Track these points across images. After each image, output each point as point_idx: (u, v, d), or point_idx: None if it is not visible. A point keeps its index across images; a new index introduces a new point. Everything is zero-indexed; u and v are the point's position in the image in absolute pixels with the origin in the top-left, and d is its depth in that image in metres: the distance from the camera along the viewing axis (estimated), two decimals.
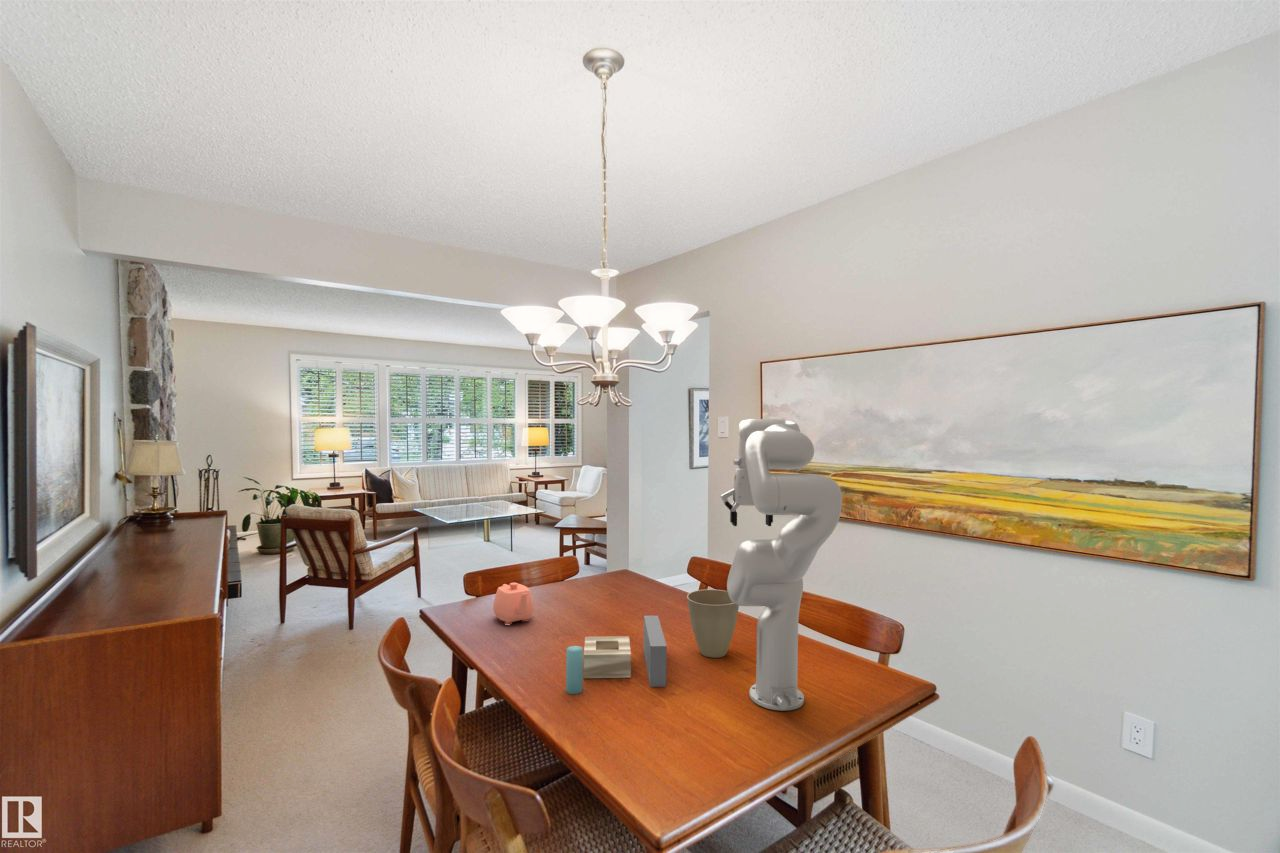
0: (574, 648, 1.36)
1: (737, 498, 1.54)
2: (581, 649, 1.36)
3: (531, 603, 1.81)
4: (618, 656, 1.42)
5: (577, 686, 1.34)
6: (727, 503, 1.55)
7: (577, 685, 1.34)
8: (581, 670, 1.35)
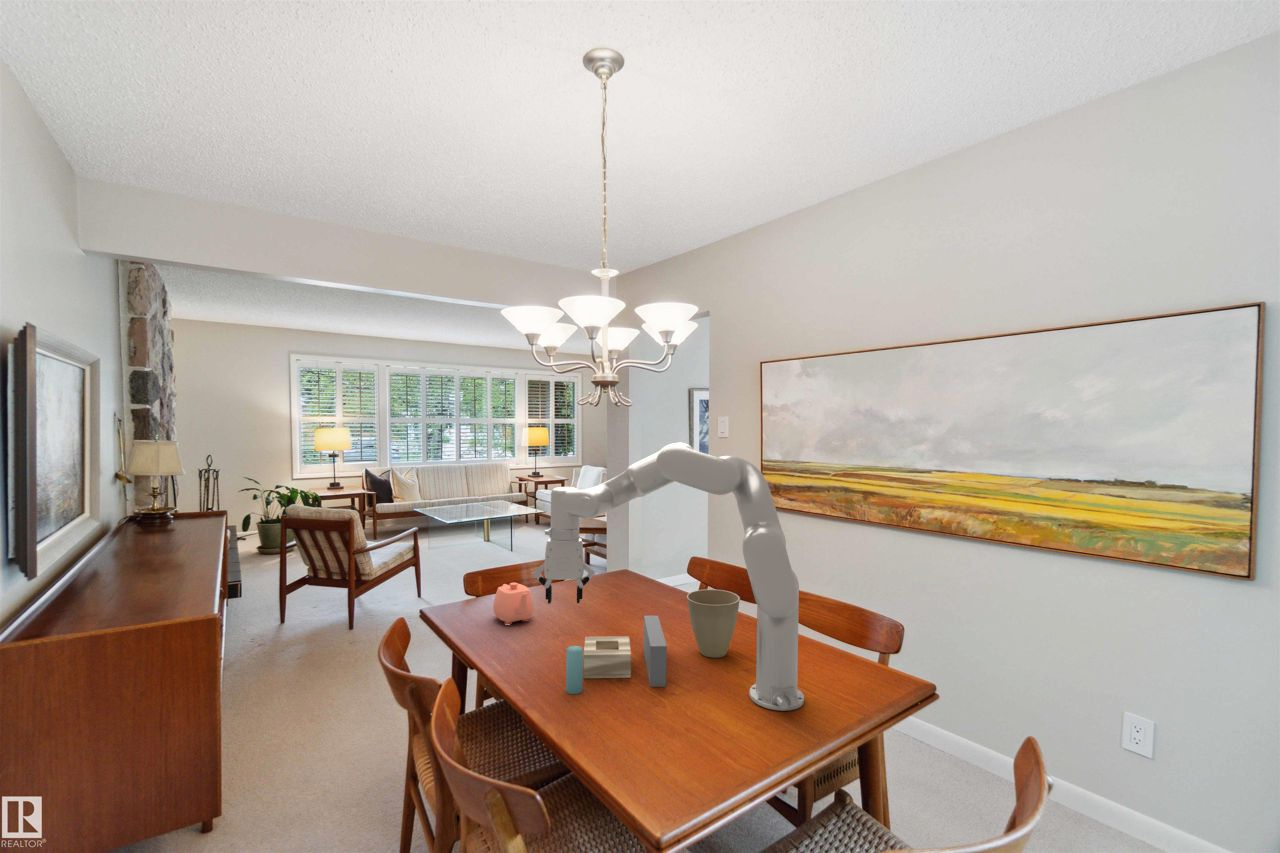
0: (574, 648, 1.36)
1: (545, 572, 1.45)
2: (581, 649, 1.36)
3: (531, 603, 1.81)
4: (618, 656, 1.42)
5: (577, 686, 1.34)
6: (541, 579, 1.46)
7: (577, 685, 1.34)
8: (581, 670, 1.35)
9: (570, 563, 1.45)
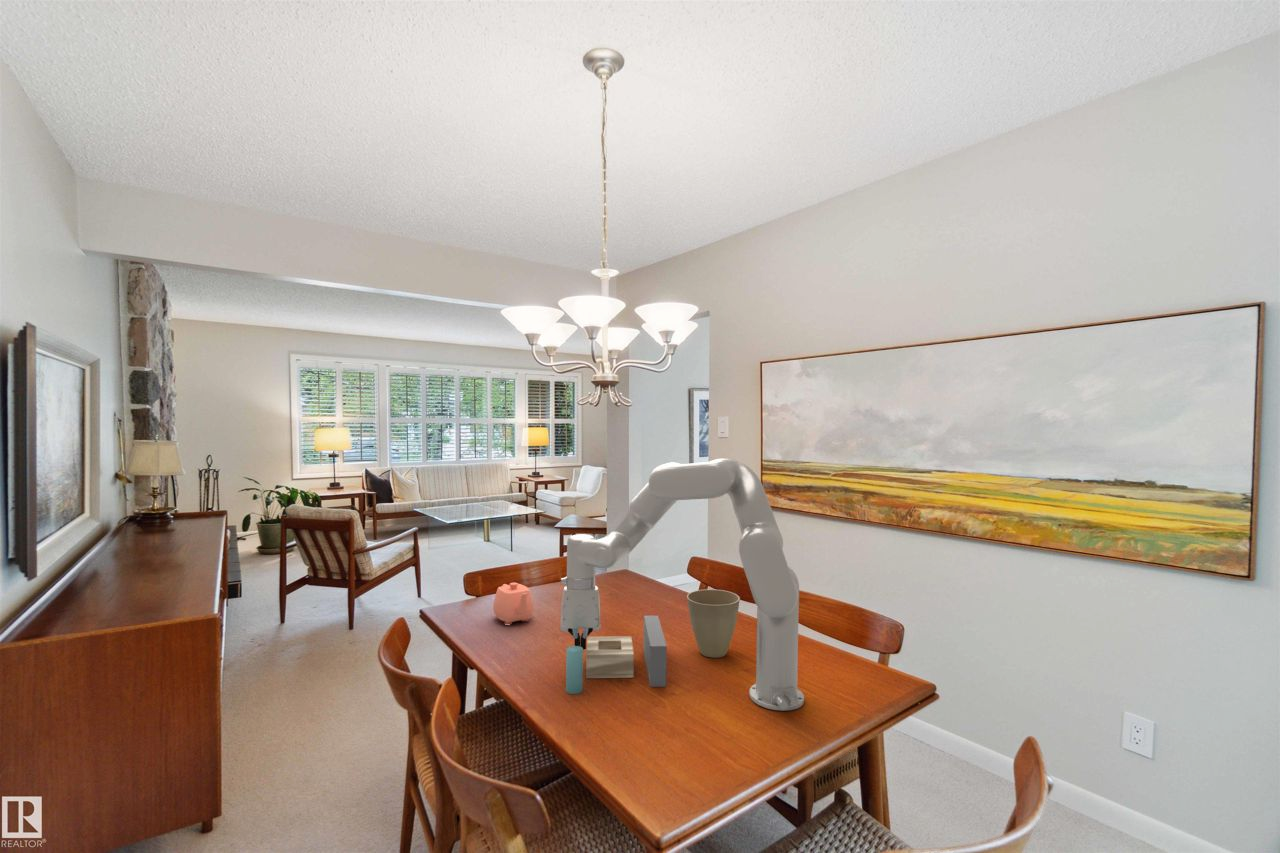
0: (574, 648, 1.36)
1: (562, 621, 1.45)
2: (581, 649, 1.36)
3: (531, 603, 1.81)
4: (621, 656, 1.43)
5: (577, 686, 1.34)
6: (570, 629, 1.47)
7: (577, 685, 1.34)
8: (581, 670, 1.35)
9: (586, 612, 1.45)
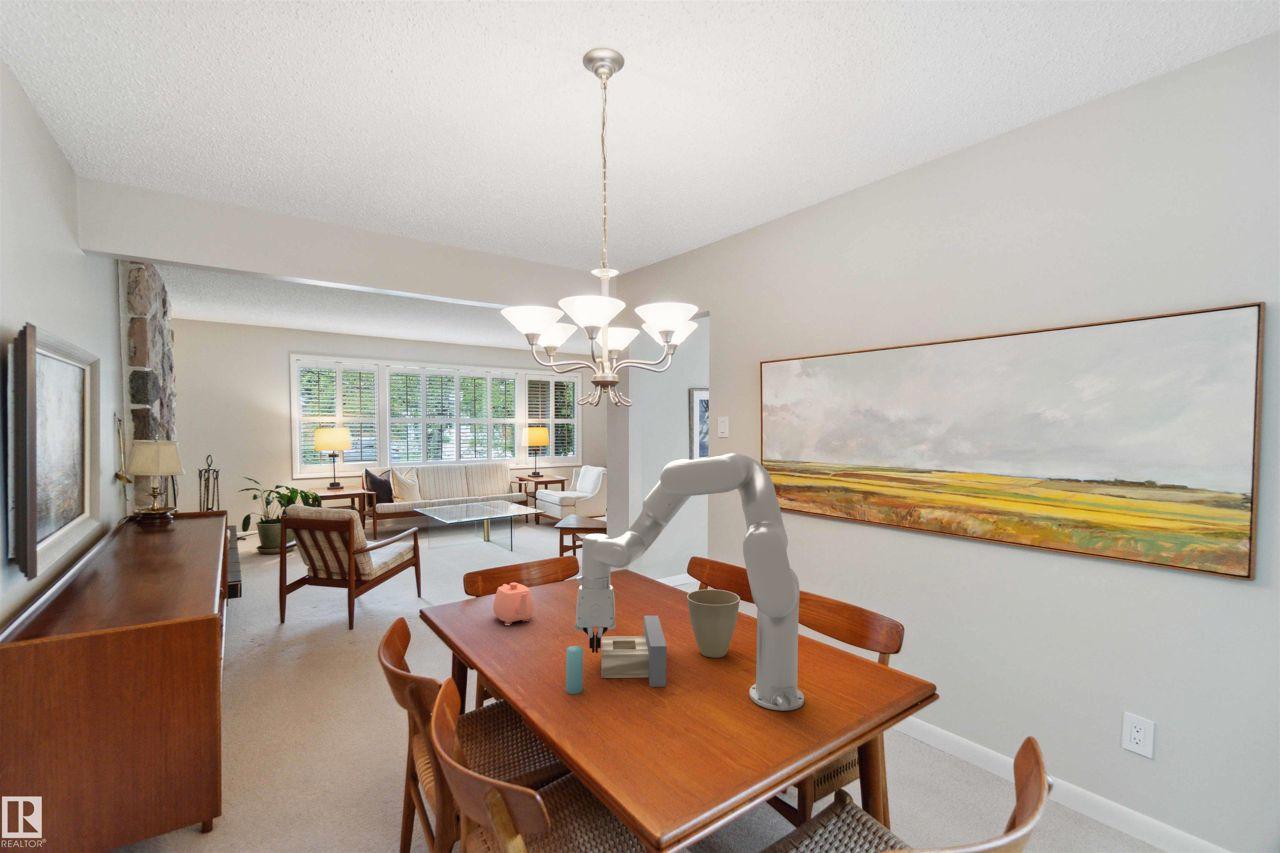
0: (574, 648, 1.36)
1: (577, 620, 1.45)
2: (581, 649, 1.36)
3: (531, 603, 1.81)
4: (635, 655, 1.43)
5: (577, 686, 1.34)
6: (585, 628, 1.47)
7: (577, 685, 1.34)
8: (581, 670, 1.35)
9: (602, 611, 1.45)
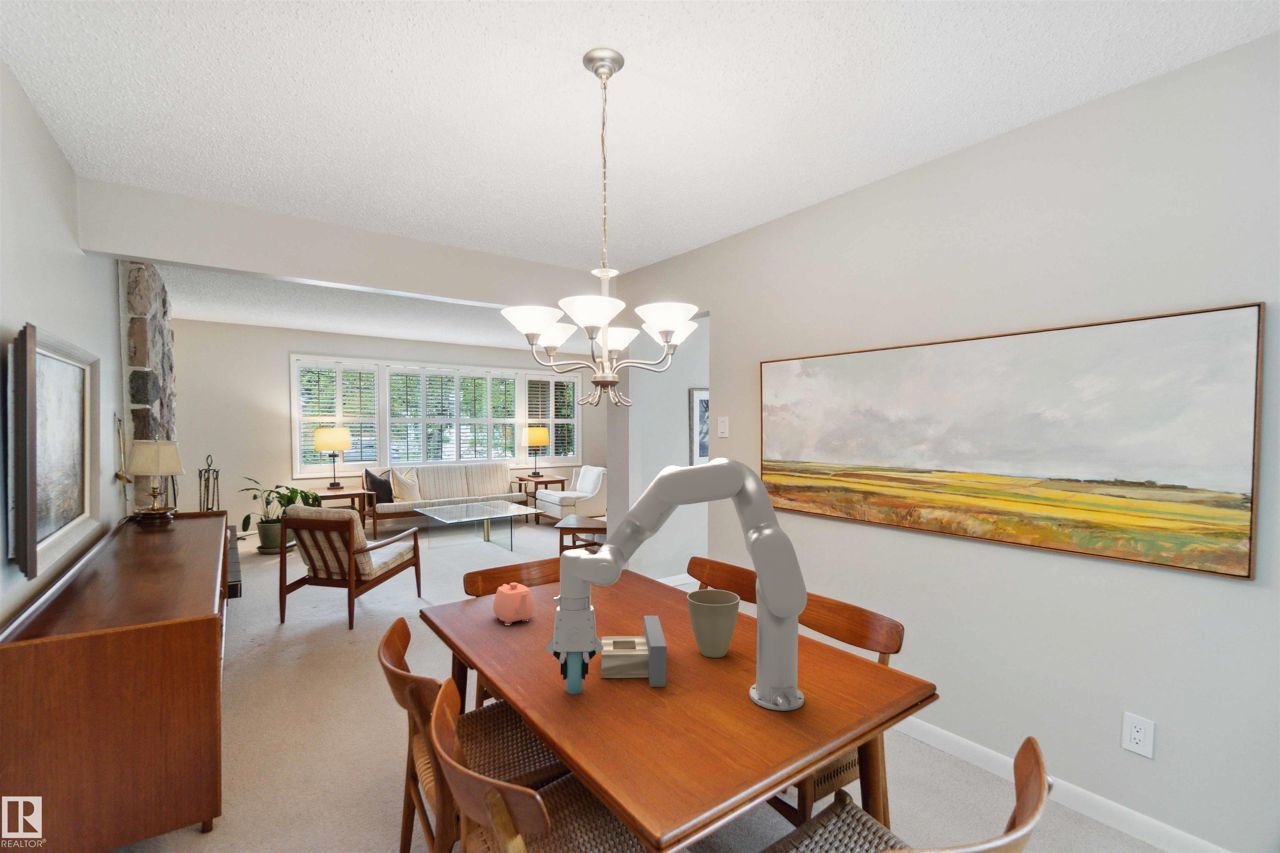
0: None
1: (554, 644, 1.33)
2: None
3: (531, 603, 1.81)
4: (635, 655, 1.43)
5: (577, 686, 1.34)
6: (555, 653, 1.35)
7: (577, 684, 1.34)
8: (581, 670, 1.35)
9: (581, 634, 1.33)
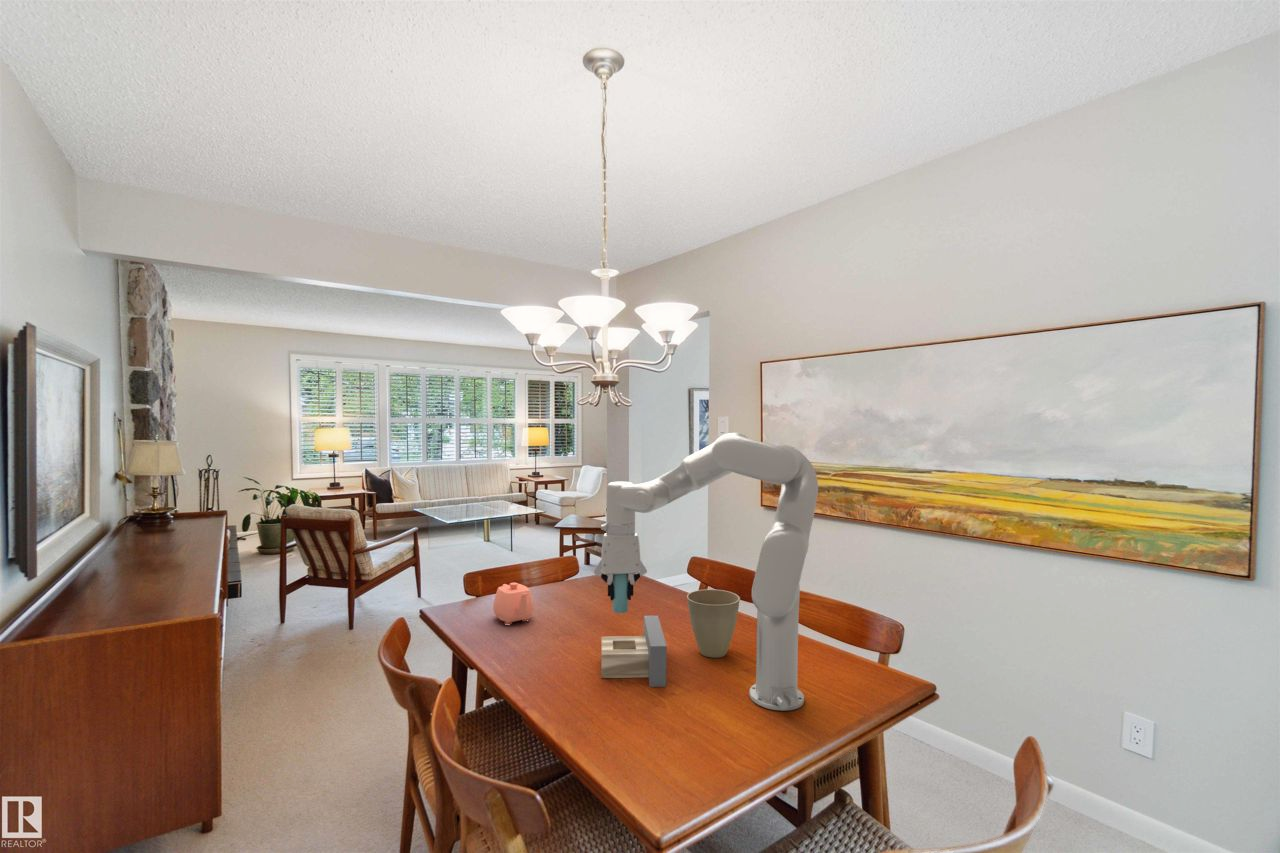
0: None
1: (602, 567, 1.44)
2: None
3: (531, 603, 1.81)
4: (635, 655, 1.43)
5: (624, 606, 1.45)
6: (603, 576, 1.46)
7: (623, 604, 1.45)
8: (627, 591, 1.46)
9: (627, 558, 1.44)
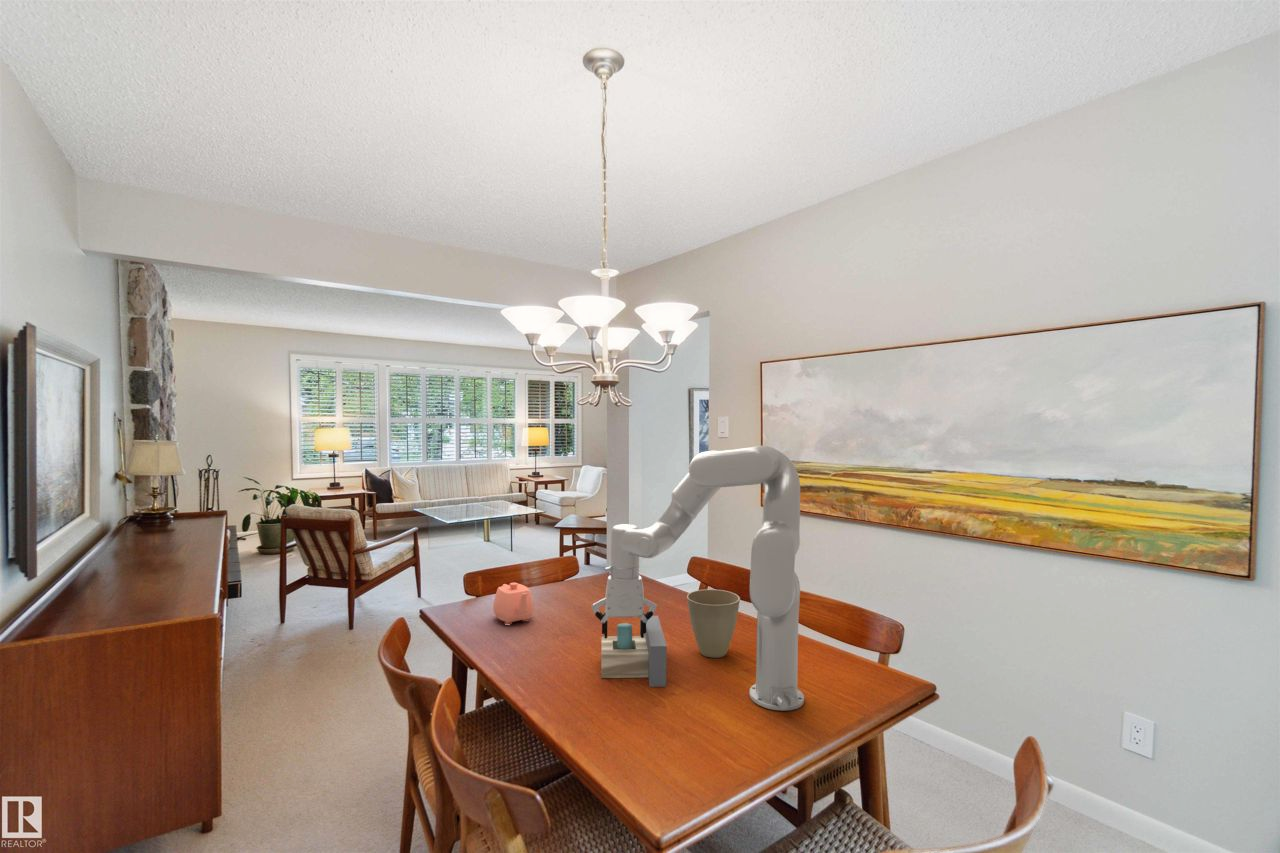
0: (624, 625, 1.49)
1: (606, 610, 1.46)
2: (630, 625, 1.48)
3: (531, 603, 1.81)
4: (635, 655, 1.43)
5: None
6: (597, 614, 1.47)
7: None
8: (631, 645, 1.48)
9: (631, 601, 1.46)
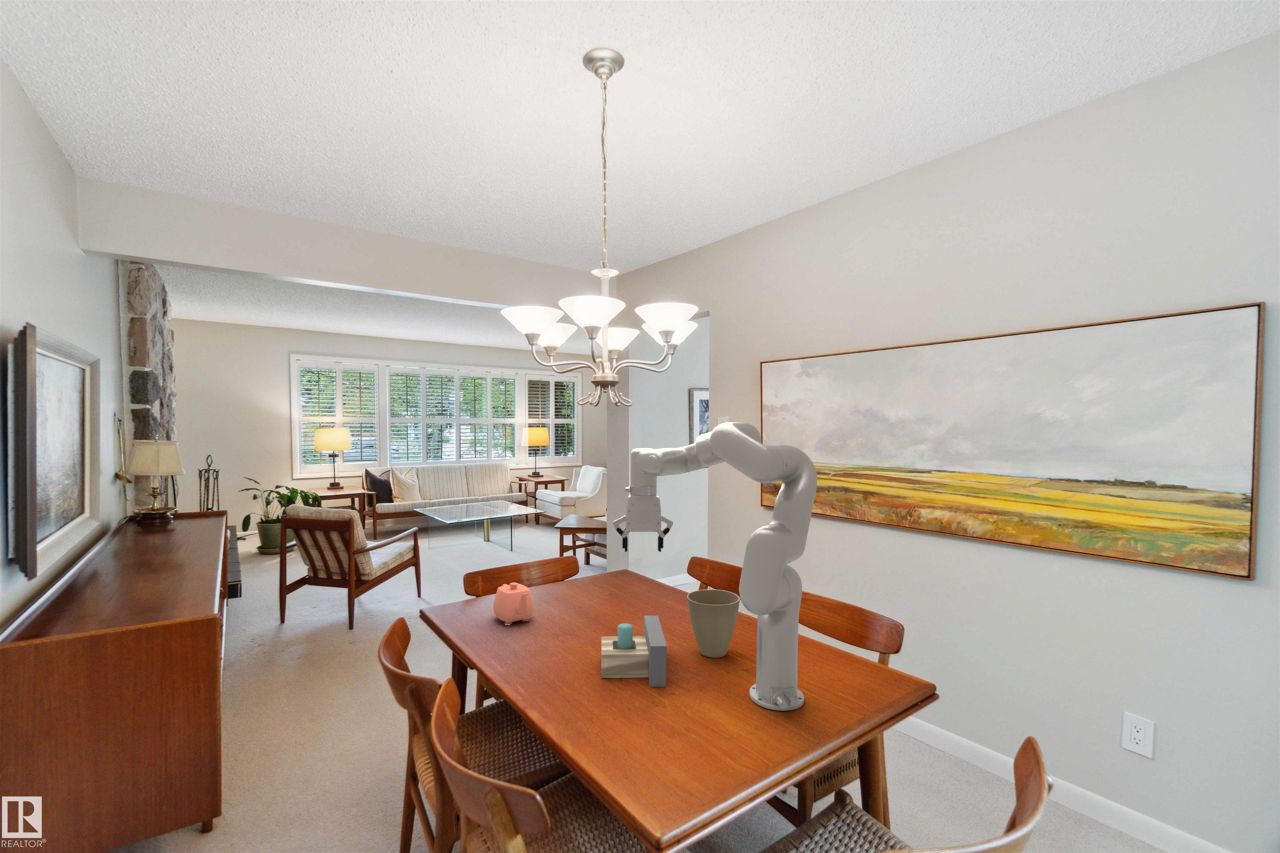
0: (624, 626, 1.48)
1: (627, 525, 1.58)
2: (631, 626, 1.48)
3: (531, 603, 1.81)
4: (635, 655, 1.43)
5: None
6: (618, 529, 1.59)
7: None
8: (632, 645, 1.48)
9: (649, 517, 1.58)
